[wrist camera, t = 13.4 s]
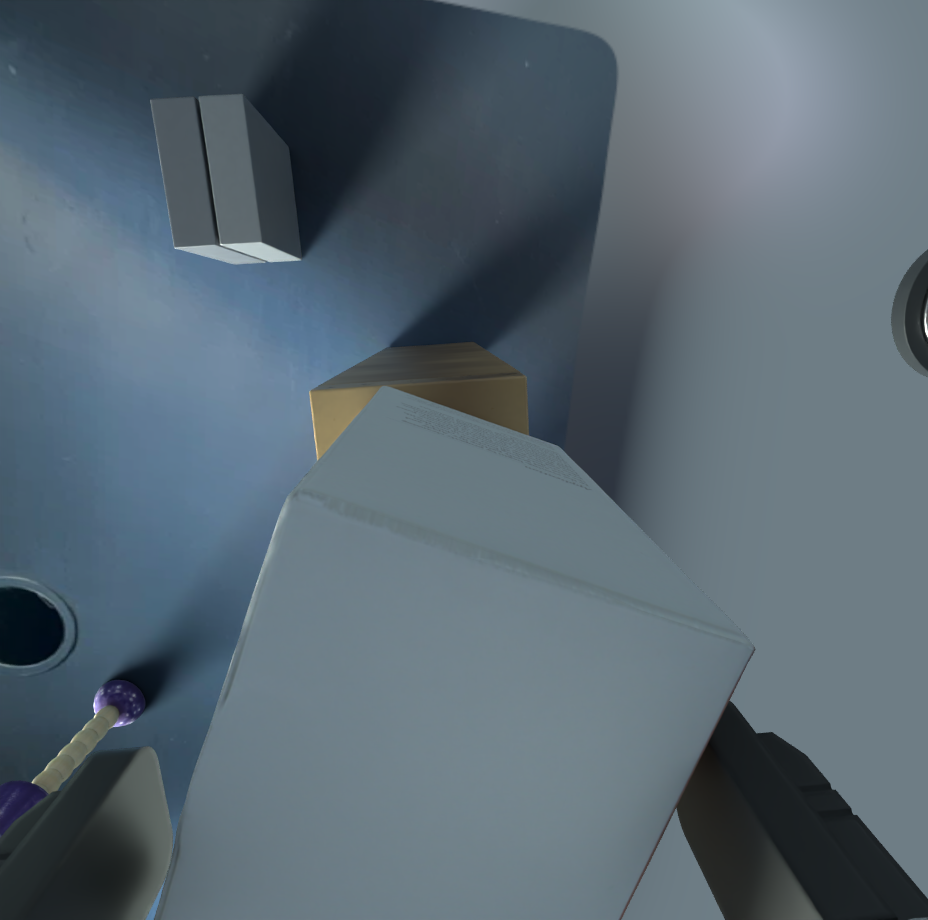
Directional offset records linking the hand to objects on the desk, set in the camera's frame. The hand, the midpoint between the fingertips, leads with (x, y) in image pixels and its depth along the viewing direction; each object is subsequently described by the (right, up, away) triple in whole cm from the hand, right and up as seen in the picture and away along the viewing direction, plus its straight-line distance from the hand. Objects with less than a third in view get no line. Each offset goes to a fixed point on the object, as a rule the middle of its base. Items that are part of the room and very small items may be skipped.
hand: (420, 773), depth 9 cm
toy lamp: (-30, -16, +45) cm, 57 cm away
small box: (0, +3, +11) cm, 12 cm away
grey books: (-15, +24, +37) cm, 46 cm away
